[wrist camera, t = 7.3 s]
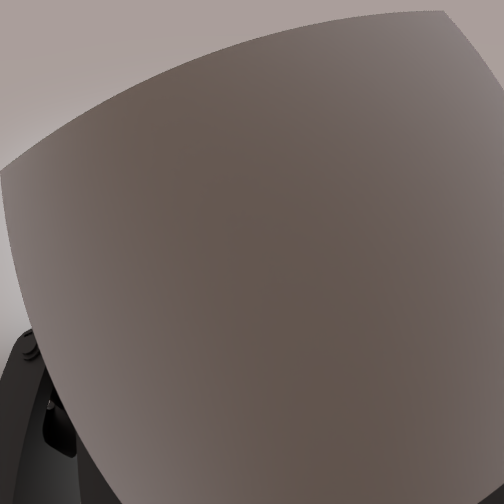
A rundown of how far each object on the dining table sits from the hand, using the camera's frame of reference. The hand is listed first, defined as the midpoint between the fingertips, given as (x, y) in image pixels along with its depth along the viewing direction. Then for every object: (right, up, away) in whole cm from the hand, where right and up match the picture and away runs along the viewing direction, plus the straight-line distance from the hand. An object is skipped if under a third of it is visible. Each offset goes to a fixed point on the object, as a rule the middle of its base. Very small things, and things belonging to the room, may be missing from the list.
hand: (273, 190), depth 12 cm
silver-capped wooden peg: (0, -4, +6) cm, 7 cm away
